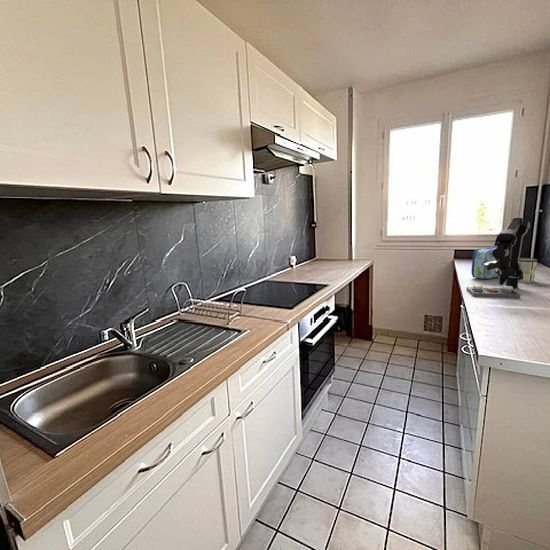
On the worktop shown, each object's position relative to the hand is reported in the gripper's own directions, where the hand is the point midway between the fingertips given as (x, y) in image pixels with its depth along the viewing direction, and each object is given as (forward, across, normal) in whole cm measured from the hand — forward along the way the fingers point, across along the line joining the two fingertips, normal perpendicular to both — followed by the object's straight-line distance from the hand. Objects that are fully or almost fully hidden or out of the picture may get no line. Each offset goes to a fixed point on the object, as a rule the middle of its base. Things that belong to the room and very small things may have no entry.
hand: (500, 285), depth 166 cm
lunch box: (+7, -51, +8) cm, 52 cm away
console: (+6, 0, -4) cm, 7 cm away
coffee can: (+7, -43, +26) cm, 51 cm away
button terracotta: (+5, 0, -4) cm, 6 cm away
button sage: (+4, 0, +3) cm, 5 cm away
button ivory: (+4, 0, -11) cm, 12 cm away
